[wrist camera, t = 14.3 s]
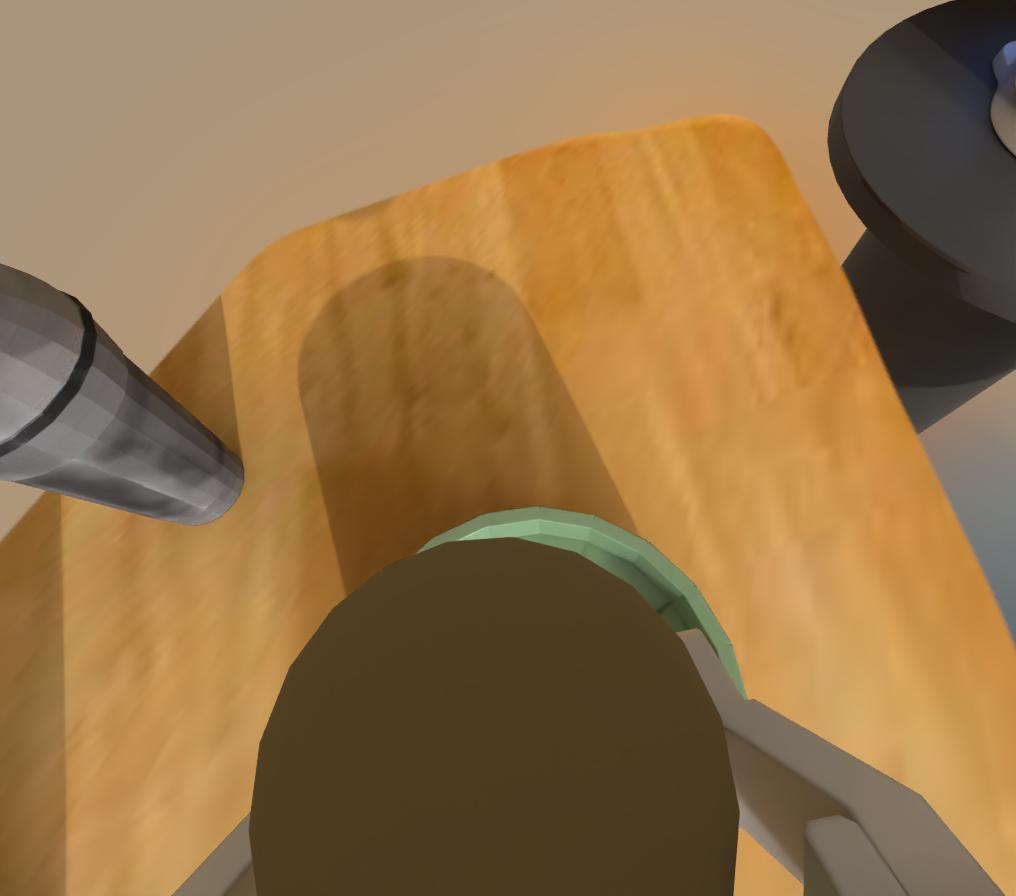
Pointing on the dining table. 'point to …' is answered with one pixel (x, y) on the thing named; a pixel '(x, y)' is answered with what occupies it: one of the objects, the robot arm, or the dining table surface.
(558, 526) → the bowl
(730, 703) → the robot arm
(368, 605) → the brown peanut shape
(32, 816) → the dining table surface
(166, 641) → the dining table surface
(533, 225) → the dining table surface
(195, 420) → the beverage cup
